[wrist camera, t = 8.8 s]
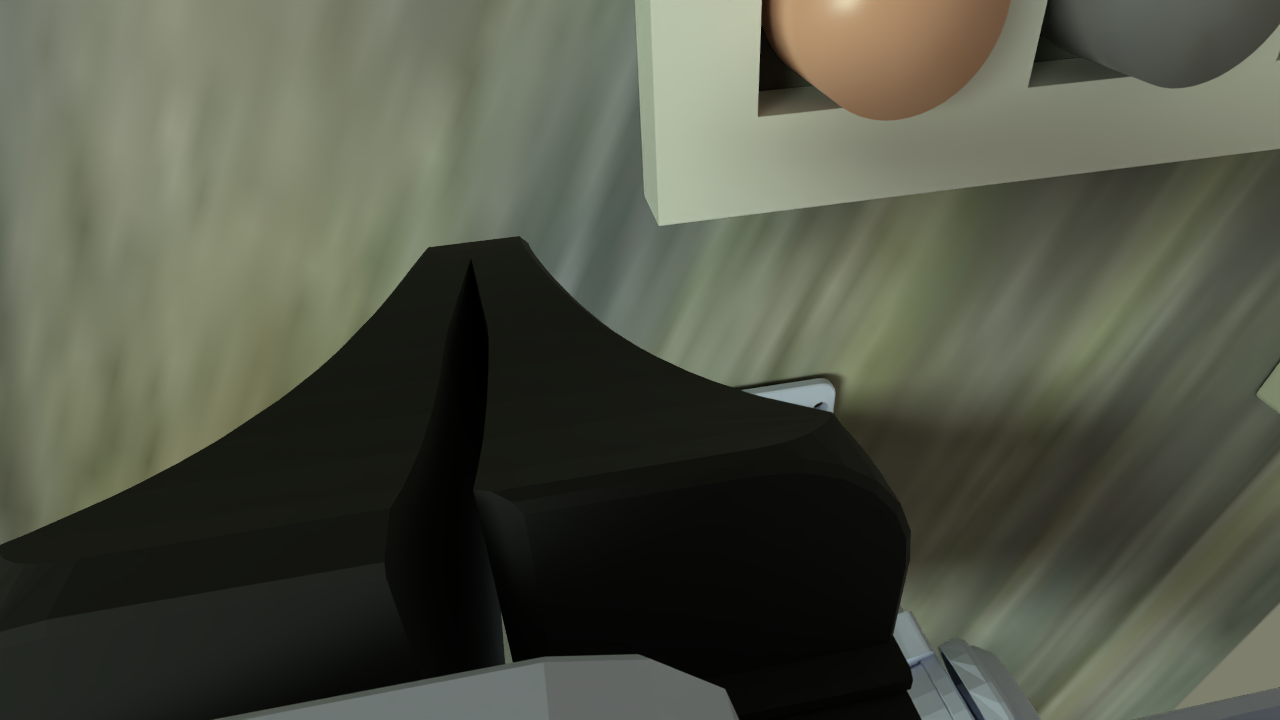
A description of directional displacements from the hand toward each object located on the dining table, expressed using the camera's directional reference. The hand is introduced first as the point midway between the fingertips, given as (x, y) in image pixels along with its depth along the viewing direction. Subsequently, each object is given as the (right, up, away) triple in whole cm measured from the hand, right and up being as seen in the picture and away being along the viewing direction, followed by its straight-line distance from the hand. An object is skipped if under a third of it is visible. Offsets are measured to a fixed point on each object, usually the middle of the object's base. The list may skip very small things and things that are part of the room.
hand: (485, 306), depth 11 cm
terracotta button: (+7, +8, +8) cm, 13 cm away
